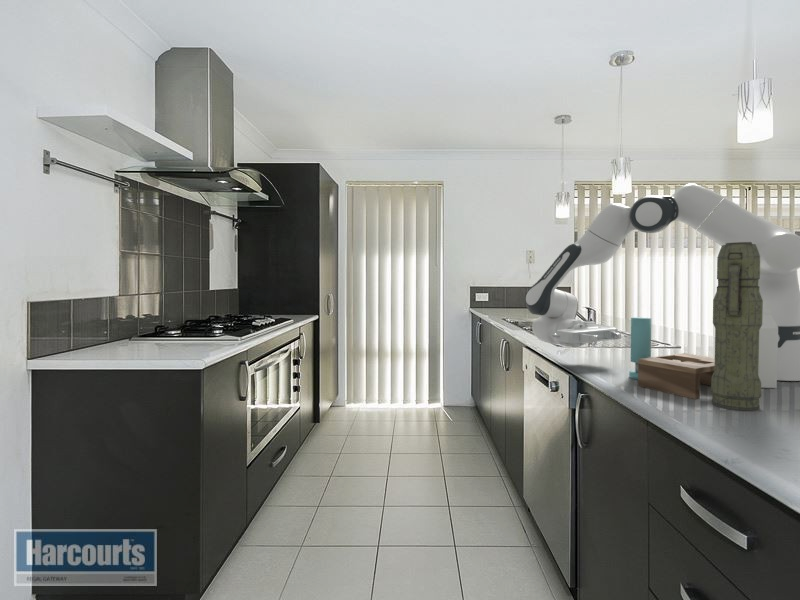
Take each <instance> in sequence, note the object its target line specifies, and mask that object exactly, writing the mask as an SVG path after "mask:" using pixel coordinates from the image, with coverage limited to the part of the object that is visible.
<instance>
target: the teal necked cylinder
mask: <svg viewBox="0 0 800 600" xmlns="http://www.w3.org/2000/svg"><path fill="white" fill-rule="evenodd" d="M650 357H652V318H651V317H644V316H643V317H642V316H641V317H640V316H638V317H637V316H636V317H630V362H632V363H634V364H635V365H634V370H630V371H629V373H628V375H629V376H628V378H629V379H632V380H637V381H638V359H641V358H650Z"/></svg>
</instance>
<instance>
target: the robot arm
mask: <svg viewBox="0 0 800 600" xmlns="http://www.w3.org/2000/svg"><path fill="white" fill-rule="evenodd" d="M675 221H676V222H682V223H684V224H685V225H688V226H690V227H691V228H692V229H694V230H695V231H696V232H699V233H701V234H702V235H704V236H705V237H707V238H708V239H710V240H711V241H713V242H715V243H717V245H719V246H721V247H722V245H726V243H737V242H752V244H756V246H757V249H758V251H759V254H760V279H759V280H758V286H759V287H760V288H759V292H760V295H761V297H762V300H763V311H771V316H772V317H773V319H774V321H775V323H776V325H777V327H778V354H777V381H784V382H785V381H786V382H789V381H790V382H796V381H797V382H798V381H799V382H800V285H799V276H798V269H800V235H798V234H796V233H794V232H792V231H790V230H788V229H786V228H785V227H783V226H780V225H779V224H776V223H774V222H772V221H770V220H768V219H766V218H764V217H761V216H760V215H757V214H756V213H753V212H752V211H749V210H748V209H745V208H744V207H742V206H741V205H739V204H738V203H735V202H734V201H732V200H731V199H729V198H727V197H725V196H724V195H722V194H720V193H718V192H716V191H714V190H711V189H710V188H708V187H704V186H702V185H698V184H696V183H687V184H685V185H682V186H680V187H679V188H678V189H677V190H675V192H673V194H672V195H657V194H655V195H654V194H652V195H651V194H650V195H649V194H648V195H646V196H642V197H640V198H638V199H637V200H636V201H635V202H634V203H633V204H632V206H628V205H624V204H622V203H619V202H613V203H608V204H607V205H606V206H604V208H602V210H601V211H600V212H599V213H598V214H597V215H596V217H595V218H594V219H593V221H592V222H590V223H591V224H590V225H589V226H588V228H587V230H586V231H585V232H584V233H583V234H582V236H581V237H580V238H579V239H577V241H575V242H574V243H572V244H569V245H568V246H566V248H564V249H563V251H562V252H561V253H560V254H559V255H558V256H557V258H555V260H554V261H553V262H552V264H551V265H550V266H549V267H548V268H547V270H546V271H545V272H544V274H542V276H541V277H540V278H539V279H538V280H537V281H536V282H535V283H534V284H533V285H532V286H530V287H529V289H528V290H527V292H526V294H525V296H524V297H525V298H524V302H525V303H524V304H525V306H526V308H527V310H528V311H529V312H530V313H531V314H532V315H537V316H539V317H537V318H536V319H535V320H534V321H533V322H532V325H531V326H532V327H531V329H532V333H533V334H534V336H535V337H536V338H537V340H539V341H541V342H544V343H546V344H547V343H548V344H551V345H561V346H564V347H570V348H571V347H572V348H580V347H581V346H584V345H586V344H591V343H595V342H603V341H604V342H605V341H612V340H613V341H615V340H616V341H617V340H621V339H622V333H620V332H618V328H616V327H614V326H609V325H604V324H598V323H596V322H595V321H585V320H580V319H576V318H577V315H578V310H579V301H578V299H577V297H576V296H575V295H574V294H573V293H570V292H568V291H565V290H560V289H557V288H558V286H559V285H560V284H561V283H562V282H563V281H564V279H565V278H566V277H567V276H568V275H569V273H570V272H571V271H573V270H574V269H577V268H579V267H585V266H595V265H602V264H604V263H607V262H608V261H609V260H611V258H613V257H614V255H615V254H616V253H617V251H618V249H619V248H620V247H621V245H622V243H623V242H624V241H625V239H626V237H628V235H629V234H631V232H634V231H637V230H638V231H639V232H642V233H647V234H656V233H659V232H662V231H663V230H665V229H666V228H668V227H669V225H670V224H671V223H673V222H675Z"/></svg>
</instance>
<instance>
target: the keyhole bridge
mask: <svg viewBox="0 0 800 600" xmlns="http://www.w3.org/2000/svg"><path fill="white" fill-rule="evenodd" d="M714 369H715V356H708V355H701V354H700V355H699V354H694V353H685V352H684V353H683V352H681V353H675V354H666V355H659V356H651V357H650V358H641V359H638V380H637V383H638V384H637V386H638V387H640V388H644V387H645V388H644V389H649V390H653V389H654V391H658V392H663V393H666V392H667V394H671V395H675V394H676V396H681V397H684V398H689V399H693V400H696V399H701V396H700V395H701V394H700V393H701V384H703V385H705V386H706V385H707V386H711V378H712V376H713V373H714Z"/></svg>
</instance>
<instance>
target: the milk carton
mask: <svg viewBox="0 0 800 600" xmlns="http://www.w3.org/2000/svg"><path fill="white" fill-rule="evenodd" d="M777 354H778V327H777V325H776V323H775V321H774V319H773V317H772V316H771V311H763V313H762V326H761V328H760V330H759V365H758V376H759V378H760V381H761V389H762V388H764V389H766V388H767V389H777V385H778V383H777V382H778V380H777Z"/></svg>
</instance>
